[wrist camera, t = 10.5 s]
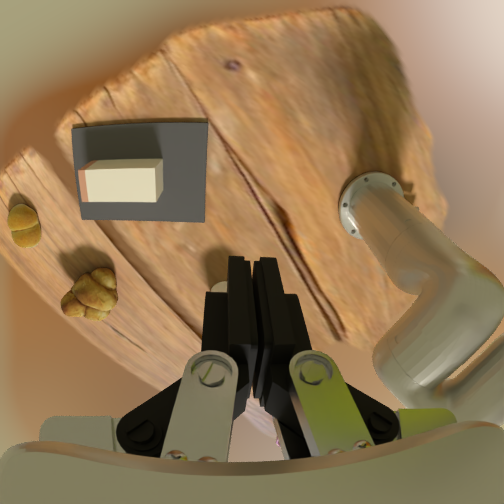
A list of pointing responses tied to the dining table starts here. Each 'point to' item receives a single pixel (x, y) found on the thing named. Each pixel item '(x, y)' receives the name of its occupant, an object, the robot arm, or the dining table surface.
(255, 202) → the dining table surface
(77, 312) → the bread roll
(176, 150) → the rubber mat
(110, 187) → the cream block
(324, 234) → the dining table surface
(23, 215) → the bread roll
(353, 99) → the dining table surface
